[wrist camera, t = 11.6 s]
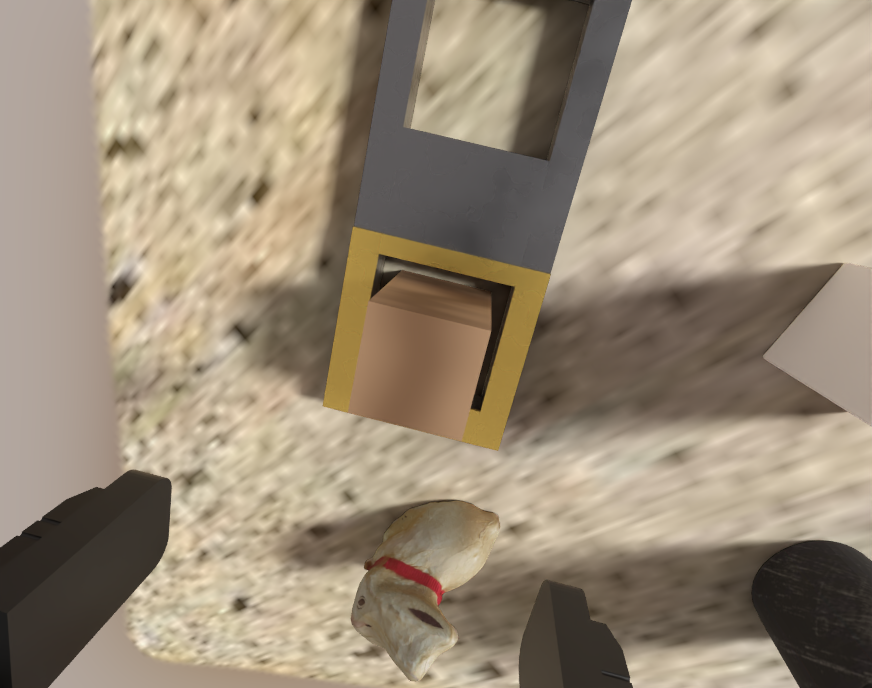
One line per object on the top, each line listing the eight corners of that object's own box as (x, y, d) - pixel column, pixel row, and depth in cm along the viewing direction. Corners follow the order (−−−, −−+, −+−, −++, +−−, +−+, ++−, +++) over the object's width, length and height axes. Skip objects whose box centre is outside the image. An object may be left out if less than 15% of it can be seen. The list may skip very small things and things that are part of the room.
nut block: (491, 291, 27) (491, 331, 20) (469, 374, 29) (461, 441, 21) (402, 269, 28) (368, 300, 20) (385, 354, 29) (347, 412, 22)
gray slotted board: (636, -40, 22) (651, -63, 20) (497, 432, 30) (497, 450, 28) (417, -88, 23) (410, -116, 21) (334, 391, 30) (322, 406, 28)
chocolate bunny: (377, 486, 32) (329, 613, 22) (502, 505, 31) (507, 643, 22) (372, 558, 34) (325, 704, 24) (490, 577, 33) (489, 735, 23)
